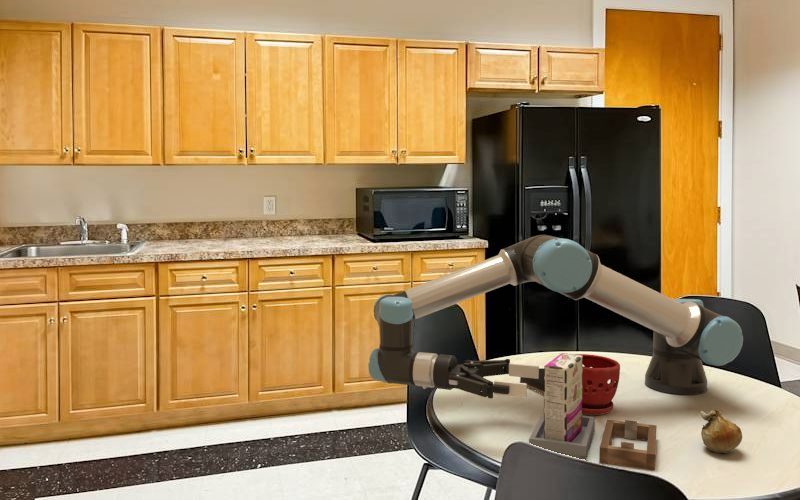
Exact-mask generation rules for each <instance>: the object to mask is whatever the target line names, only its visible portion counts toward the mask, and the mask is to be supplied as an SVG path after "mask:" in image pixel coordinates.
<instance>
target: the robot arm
mask: <svg viewBox="0 0 800 500" xmlns="http://www.w3.org/2000/svg"><path fill="white" fill-rule="evenodd" d="M530 282H532V283H533V282H536V283H538V284H539V285H542V286H544V287H545V288H547V289H549V290H551V291H553V292H557V293H559V294H561V295H563V296H565V297H567V298H569V299H572V300H574V301H578V300H581V299H583V298H585V299H587V300H589V301H592V302H593V303H596V304H597V305H600V306H601V307H603V308H606V309H608V310H610V311H612V312H614V313H616V314H618V315H619V316H623V317H624V318H627V319H629V320H630V321H633V322H635V323H637V324H639V325H642V326H643V327H645V328H646V329H647V328H648V329H649V330H652V331H653V334H652V335H653V339H652V340H653V341H652V356H651V358H650V359H651V360H650V361H649V364H648V367H647V369H646V372H645V375H644V384H645V385H646V386H647V387H648V388H650V389H653V390H655V391H658V392H662V393H668V394H674V395H675V394H676V395H699V394H703V393H705V392H707V390H708V379H707V378H708V377H707V375H706V371H705V369H704V365H703V363H705V364H707V365H711V366H712V365H713V366H717V367H719V366H725V365H727V364H729V363H731V362H732V361H734V360H736V359H735V358H737V356H738V355H739V354H740V352H741V350H742V348H743V345H744V344H743V343H744V336H743V331H742V328H741V326H740V325H739V323H737V321H735V320H734V319H732V318H731V317H729V316H726V315H721V314H719V313H716V312H714V311H712V310H710V309H708V308H707V307H704V306H705V305H704V302H703V301H702V300H701V299H695V298H671V297H669V296H666V295H665V294H662V293H661V292H659V291H656V290H654V289H653V288H650V287H648V286H646V285H644V284H642V283H640V282H638V281H636V280H634V279H632V278H630V277H628V276H626V275H624V274H622V273H620V272H619V271H618V272H617V271H615V270H613V269H612V268H610V267H607V266H605V265H604V264H602V263H601V261H600V258H599V256H598V254H596V253H594V252H592V251H589V250H588V249H586V248H584V247H583V246H582V245H581V244H580V243H578V242H577V241H575V240H571V239H568V238H565V237H564V238H563V237H562V238H561V237H557V236H552V235H547V234H538V235H535V236H531V237H529V238H527V239H524V240H522V241H519V242H516V243H515V244H514V243H513V244H512V245H510V246H508V247H504V248H502V249H500V251H499V253H498V254H497V255H495V256H492V257H490V258H487V259H485V260H482V261H479V262H477V263H475V264H471V265H469V266H466V267H463V268H461V269H458V270H455V271H453V272H450V273H447V274H444V275H442V276H439V277H437V278H434V279H431V280H428V281H427V282H424V283H421V284H418V285H416V286H413V287H410V288H409V289H405V290H403V291H400V292H397V293H394V294H389V293H388V294H386V293H385V294H382V295H381V296H380V297H378V298H377V299H376V301H375V302H374V305H373V316H374V319H375V321H376V322H377V324H378V328H379V329H378V330H379V348H378V347H377V348H375V349H373V350H372V351H371V353H370V356H369V362H368V364H367V365H368V373H369V376H370V378H371V379H372V380H374V381H376V382H383V383H387V384H389V385H393V384H394V385H405V386H414V387H422V389H423V390H425V389H427V388H432V389H433V388H436V389H440V390H446V391H447V390H449V391H450V390H453V389H456V390H460V391H464V392H465V393H466V392H467V393H470V394H473V395H476V396H479V397H481V398H487V399H493V398H494V395H496V396H497V395H498V396H507V397H516V398H525V399H526V398H527V397H528V391H527V390H528V387H527V384H526V383H520V382H515V381H507V380H506V381H504V380H496V379H495V380H494V382H493V381H492V380H490V379H487V378H485V377H493V376H503V375H508V376H509V377H516V378H520V377H525V378H535V379H538V378H539V368H540V366H539V365H533V364H523V363H522V364H521V363H513V362H512V363H511V359H509V358H506V359H494V360H493V359H490V360H469V359H467V360H465V362H464V363H463V364H459V363H458V359H457V358H456V356H455V355H454V354H453V355H451V354H443V353H440V354H437V353H434V352H433V353H432V352H421V351H420V352H419V351H414V350H413V347H414V346H413V345H414V344H413V321H415V320H416V319H420V318H422V317H424V316H427V315H430V314H433V313H436V312H438V311H440V310H444V309H446V308H448V307H451V306H454V305H457V304H459V303H462V302H464V301H467V300H470V299H472V298H475V297H477V296H480V295H483V294H486V293H488V292H491V291H494V290H496V289H499V288H501V287H504V286H507V285H509V284H510V285H512V286H514V287H515V286H519V285H520V284H524V283H530Z"/></svg>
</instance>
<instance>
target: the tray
mask: <svg viewBox="0 0 800 500" xmlns="http://www.w3.org/2000/svg"><path fill="white" fill-rule="evenodd" d="M539 417H540V418H539V419H538V422H537V423H536V425H535V426H534V429H533V430H532V432H531V434H530V436H529V438H528V444H529V443H531V444H533V445H536V446H539V447H542V448H544V449H548V450H551V451H554V452H557V453H561V454H565V455H569V456H572V457H576V458H579V459H585V460H586V461H587V457H588V454H589V451H590V448H591V445H592V441H593V438H594V434H595V431H596V428H595V427H596V416H591V415H582V430H581V431H580V432H579V433H578V434H577V436H576V437H575V438H574V439H573V440H572V441H571V442H565V441H557V440H550V439H544V411H543V412H542V414H541V416H539Z"/></svg>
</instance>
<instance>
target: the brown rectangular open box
mask: <svg viewBox="0 0 800 500" xmlns="http://www.w3.org/2000/svg"><path fill="white" fill-rule="evenodd" d="M657 427H658V426H657V425H655V424H651V423H650V424H649V423H648V424H647V423H642V422H641V423H640V422H638V420H634V419H633V420H632V419H631V420H630V419H625V420H615V419H608V418H607V419H606V422H605V425H604V428H603V432H602V436H601V441H600V444H599V457H598V460H599V463H601V464H602V463H605V464H609V465H617V466H625V467H631V468H637V469H645V470H650V471H651V470H652V471H655V466H656V454H657V453H656V449H657ZM614 437H615V438H624V439H627V440H634V441H635V440H636V441H637V440H639V441H641V440H642V441H647V443H646V444H647V445H646V449H640V448H639V449H637V448H635V442H628V441H620V446H615V445H612V443H613V440H614Z"/></svg>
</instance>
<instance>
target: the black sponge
mask: <svg viewBox="0 0 800 500" xmlns="http://www.w3.org/2000/svg"><path fill="white" fill-rule="evenodd" d="M519 383H526V384H527V388H528V387H529V388H528V389H530V388H531V390H532V389H533V390H532V391H534V390H536V391H535V392H537V391H538V392H537V393H539V392H540V393H539V394H541V393H542V394H541V395H543V394H544V368H540V367H539V378H538V379H535V378H525V377H519Z"/></svg>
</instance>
